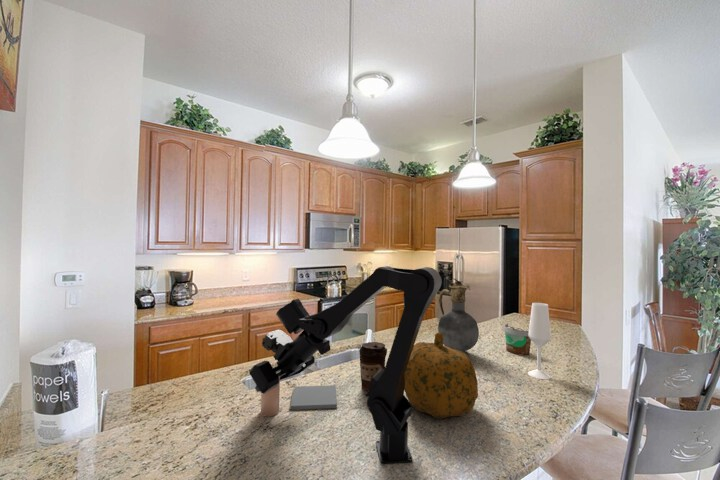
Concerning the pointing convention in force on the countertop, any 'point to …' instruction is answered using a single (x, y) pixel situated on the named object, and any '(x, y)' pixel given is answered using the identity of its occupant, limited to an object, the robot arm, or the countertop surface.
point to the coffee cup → (371, 361)
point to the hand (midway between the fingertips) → (266, 384)
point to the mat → (314, 397)
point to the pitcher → (457, 320)
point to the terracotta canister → (270, 401)
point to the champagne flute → (539, 334)
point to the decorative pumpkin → (440, 380)
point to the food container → (517, 340)
